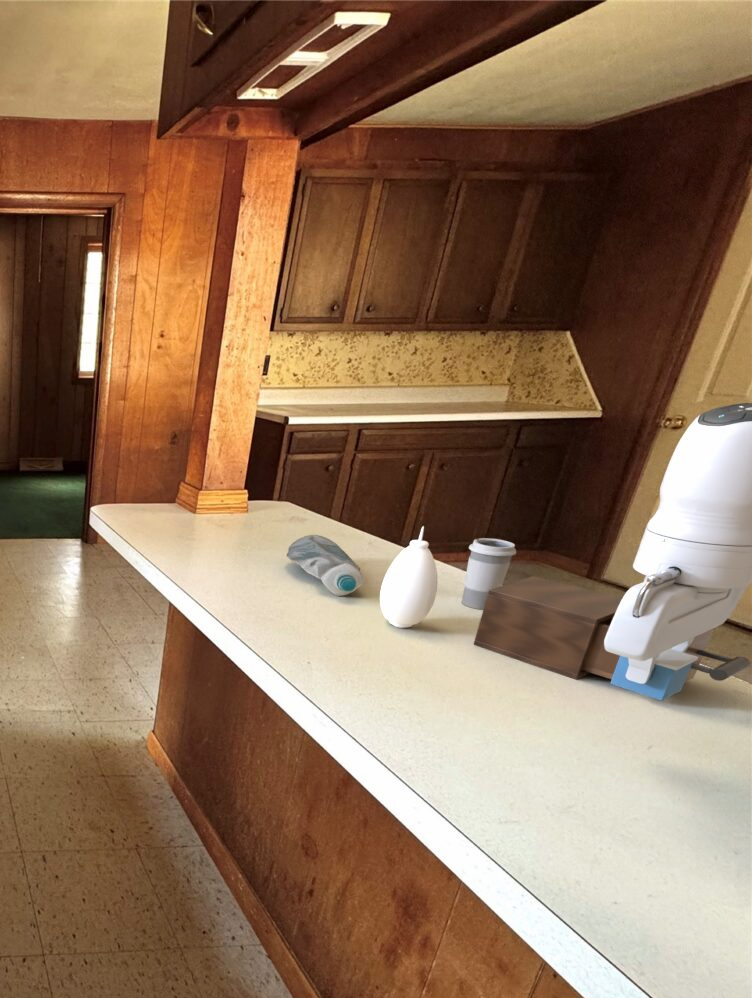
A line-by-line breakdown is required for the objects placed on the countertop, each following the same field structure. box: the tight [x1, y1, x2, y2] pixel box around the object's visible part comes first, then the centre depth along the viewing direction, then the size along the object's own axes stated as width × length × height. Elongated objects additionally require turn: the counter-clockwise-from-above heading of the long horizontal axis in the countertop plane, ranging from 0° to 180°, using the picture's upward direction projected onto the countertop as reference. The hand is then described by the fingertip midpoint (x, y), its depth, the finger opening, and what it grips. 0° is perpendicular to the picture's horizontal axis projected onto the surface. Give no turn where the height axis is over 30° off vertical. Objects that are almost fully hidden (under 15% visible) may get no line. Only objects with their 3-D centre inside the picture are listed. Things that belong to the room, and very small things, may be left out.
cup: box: [461, 537, 517, 610], centre depth 120 cm, size 7×7×12 cm
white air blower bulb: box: [379, 525, 439, 629], centre depth 112 cm, size 8×8×18 cm
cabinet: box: [473, 575, 623, 680], centre depth 102 cm, size 14×13×10 cm
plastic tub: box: [610, 649, 698, 701], centre depth 76 cm, size 5×5×4 cm
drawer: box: [582, 618, 751, 684], centre depth 93 cm, size 17×11×8 cm, turn 26°
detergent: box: [286, 534, 365, 597], centre depth 135 cm, size 13×7×25 cm
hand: (650, 674), depth 76 cm, fingers closed on plastic tub, 4 cm apart
